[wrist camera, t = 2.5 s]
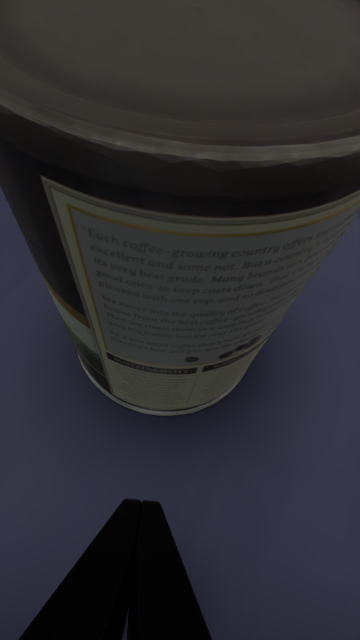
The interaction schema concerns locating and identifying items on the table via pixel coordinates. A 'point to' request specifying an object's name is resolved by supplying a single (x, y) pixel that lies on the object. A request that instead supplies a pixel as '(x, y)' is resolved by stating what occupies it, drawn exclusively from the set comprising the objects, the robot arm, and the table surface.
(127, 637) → the robot arm
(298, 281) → the coffee can
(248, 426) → the table surface
